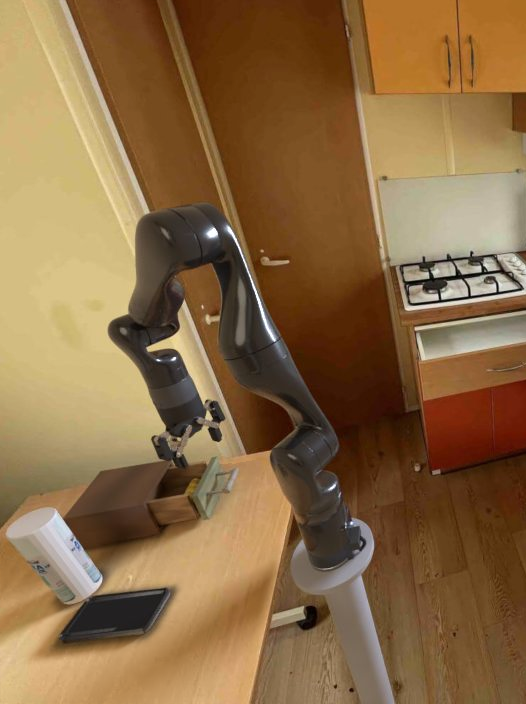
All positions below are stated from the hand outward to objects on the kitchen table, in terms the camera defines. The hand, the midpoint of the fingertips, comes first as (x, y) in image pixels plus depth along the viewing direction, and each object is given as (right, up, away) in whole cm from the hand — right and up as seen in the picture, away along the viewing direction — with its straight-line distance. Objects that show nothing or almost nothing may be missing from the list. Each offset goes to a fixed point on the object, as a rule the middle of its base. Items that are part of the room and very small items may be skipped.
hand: (201, 453), depth 96 cm
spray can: (-15, -24, -12) cm, 31 cm away
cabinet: (-18, -16, +3) cm, 24 cm away
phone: (-4, -26, -16) cm, 31 cm away
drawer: (-5, -14, +6) cm, 16 cm away
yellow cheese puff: (-5, -12, +5) cm, 15 cm away
